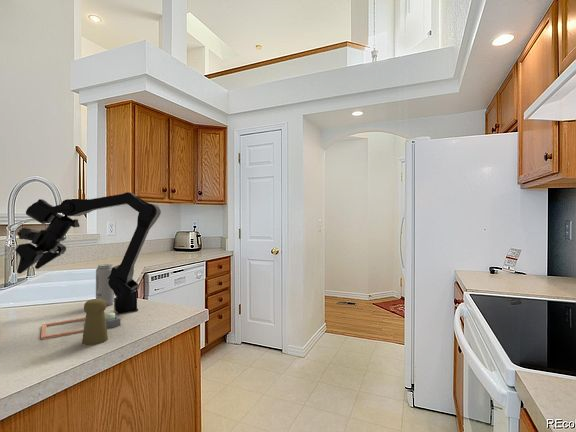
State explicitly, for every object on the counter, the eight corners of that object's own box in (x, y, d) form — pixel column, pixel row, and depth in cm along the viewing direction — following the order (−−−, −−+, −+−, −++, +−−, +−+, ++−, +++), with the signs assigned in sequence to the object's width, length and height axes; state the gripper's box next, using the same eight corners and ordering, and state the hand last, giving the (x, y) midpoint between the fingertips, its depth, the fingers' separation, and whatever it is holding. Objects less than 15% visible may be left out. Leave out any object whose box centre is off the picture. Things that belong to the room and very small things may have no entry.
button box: (117, 321, 100) (117, 314, 100) (120, 325, 96) (120, 319, 96) (99, 324, 97) (99, 317, 97) (101, 329, 93) (101, 322, 93)
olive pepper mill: (113, 338, 86) (113, 297, 86) (93, 346, 80) (93, 303, 80) (96, 335, 88) (97, 295, 88) (76, 343, 82) (76, 301, 82)
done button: (114, 319, 98) (114, 312, 98) (115, 322, 96) (115, 314, 96) (103, 321, 97) (104, 313, 97) (105, 323, 94) (105, 315, 94)
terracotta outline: (92, 318, 103) (92, 316, 103) (97, 329, 93) (97, 327, 93) (42, 326, 95) (42, 324, 95) (41, 339, 85) (41, 337, 85)
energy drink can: (94, 304, 119) (94, 264, 119) (111, 301, 123) (112, 263, 123) (97, 307, 114) (98, 266, 114) (116, 304, 118) (116, 265, 118)
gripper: (49, 218, 116) (23, 254, 114) (14, 218, 97) (-17, 261, 96) (77, 234, 117) (52, 270, 116) (48, 238, 99) (17, 280, 97)
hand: (27, 270), depth 106 cm, fingers open, 9 cm apart
